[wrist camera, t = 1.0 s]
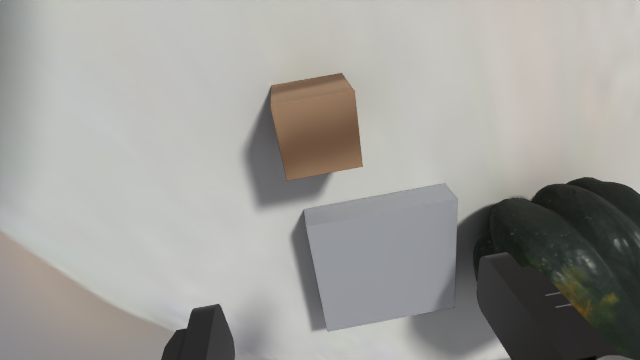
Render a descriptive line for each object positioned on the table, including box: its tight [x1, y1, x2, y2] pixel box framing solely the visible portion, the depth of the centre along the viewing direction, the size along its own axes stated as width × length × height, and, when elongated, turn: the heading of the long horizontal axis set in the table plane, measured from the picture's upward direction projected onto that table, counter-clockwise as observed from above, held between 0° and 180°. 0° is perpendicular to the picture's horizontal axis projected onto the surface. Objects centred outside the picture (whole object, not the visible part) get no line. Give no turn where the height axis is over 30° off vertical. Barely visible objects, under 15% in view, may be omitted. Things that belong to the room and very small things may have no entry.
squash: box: [473, 177, 640, 360], centre depth 30 cm, size 14×15×15 cm
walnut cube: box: [270, 73, 363, 180], centre depth 25 cm, size 5×5×5 cm
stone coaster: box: [304, 184, 458, 332], centre depth 33 cm, size 12×12×2 cm
